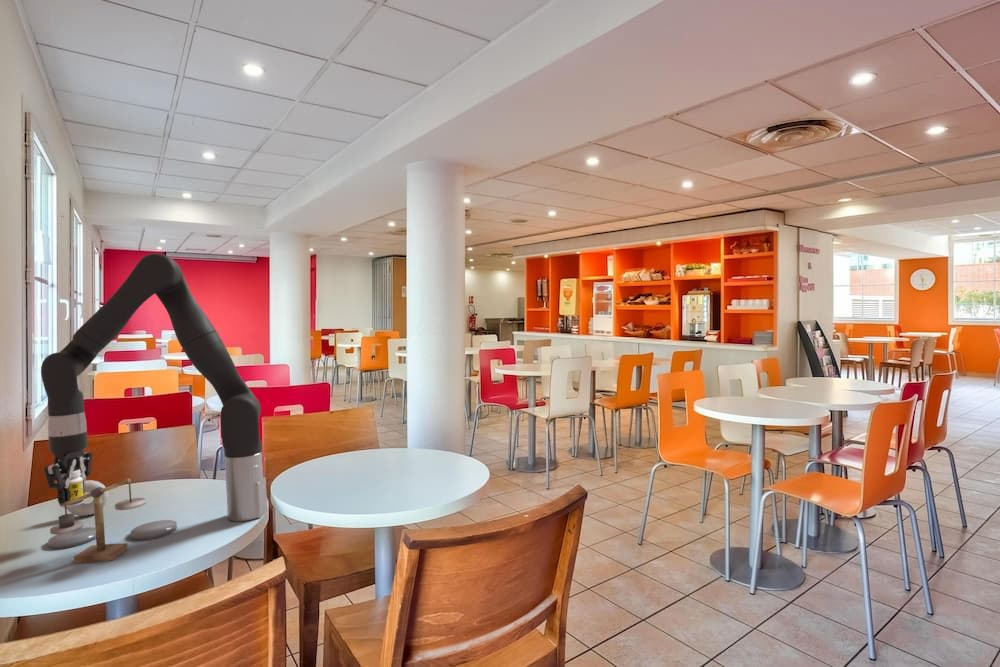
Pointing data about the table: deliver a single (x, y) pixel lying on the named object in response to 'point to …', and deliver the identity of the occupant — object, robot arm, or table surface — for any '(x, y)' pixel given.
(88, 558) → the balance
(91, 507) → the donut
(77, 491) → the supplement bottle
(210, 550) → the table surface
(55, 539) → the dish low side
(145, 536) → the dish high side
